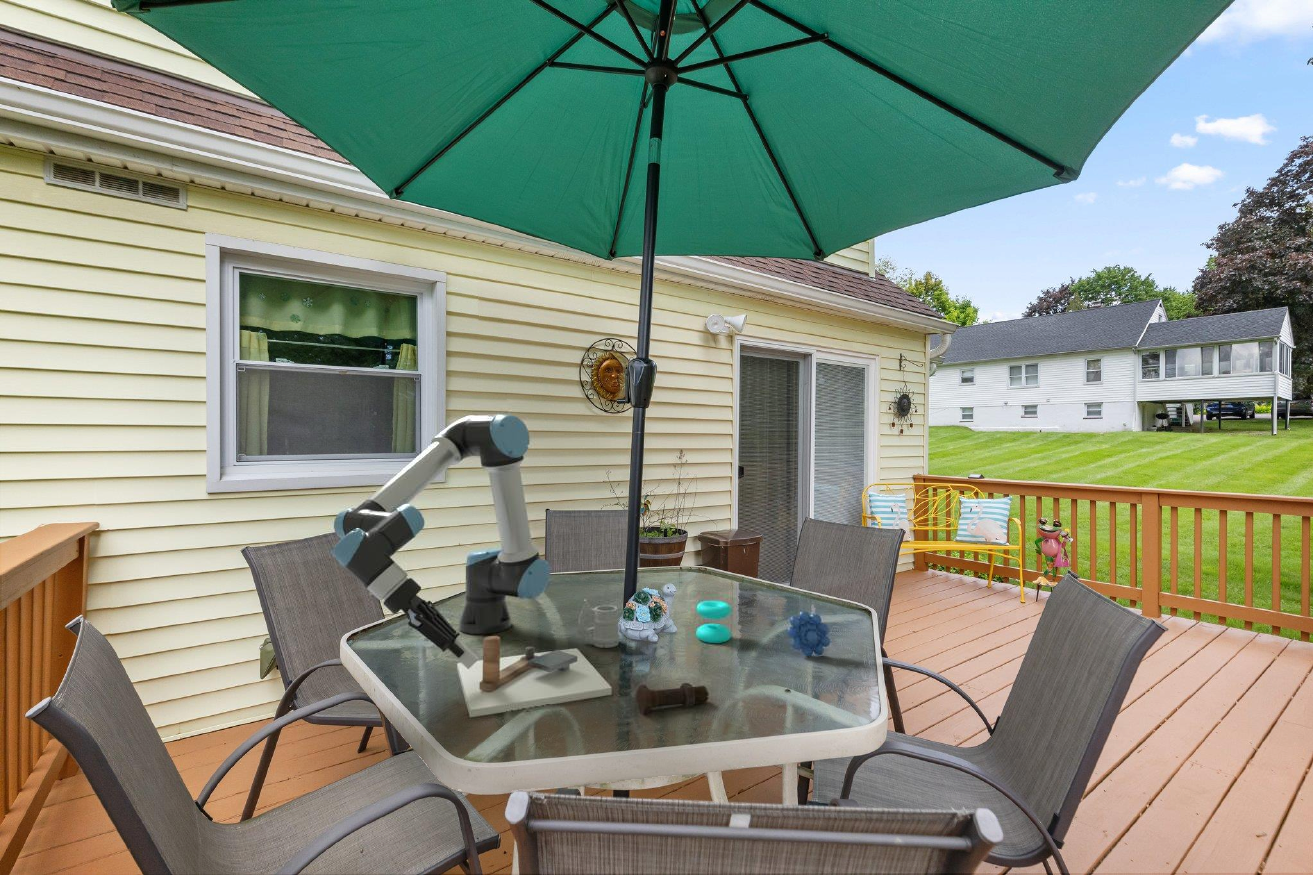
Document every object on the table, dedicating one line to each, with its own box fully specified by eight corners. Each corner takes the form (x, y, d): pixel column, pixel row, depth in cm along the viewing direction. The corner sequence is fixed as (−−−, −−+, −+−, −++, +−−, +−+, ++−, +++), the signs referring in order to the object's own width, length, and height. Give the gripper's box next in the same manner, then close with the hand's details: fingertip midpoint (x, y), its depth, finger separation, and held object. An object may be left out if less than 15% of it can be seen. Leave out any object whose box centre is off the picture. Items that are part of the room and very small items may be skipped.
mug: (617, 648, 161) (618, 604, 162) (574, 647, 162) (575, 603, 162) (621, 639, 169) (621, 597, 169) (580, 638, 170) (580, 596, 170)
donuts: (694, 607, 167) (698, 598, 177) (694, 643, 167) (698, 632, 177) (730, 609, 165) (732, 600, 175) (730, 645, 165) (731, 634, 175)
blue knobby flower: (792, 662, 152) (792, 615, 153) (784, 653, 159) (784, 608, 159) (836, 661, 154) (836, 615, 154) (826, 652, 160) (826, 608, 160)
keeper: (556, 670, 145) (556, 649, 145) (577, 677, 141) (577, 656, 141) (527, 681, 138) (528, 660, 138) (548, 689, 134) (549, 667, 134)
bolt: (707, 712, 127) (640, 720, 122) (699, 692, 132) (634, 699, 126) (713, 694, 125) (646, 701, 120) (705, 674, 129) (640, 680, 124)
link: (527, 660, 147) (527, 617, 147) (542, 662, 145) (543, 619, 146) (476, 688, 129) (477, 640, 129) (493, 692, 127) (494, 642, 128)
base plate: (457, 669, 145) (457, 663, 145) (576, 653, 157) (576, 648, 157) (469, 717, 119) (469, 709, 119) (611, 694, 131) (611, 687, 131)
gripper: (390, 594, 135) (465, 665, 137) (372, 609, 122) (455, 688, 124) (416, 570, 136) (489, 641, 138) (400, 583, 123) (482, 661, 125)
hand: (473, 663), depth 131 cm, fingers closed
